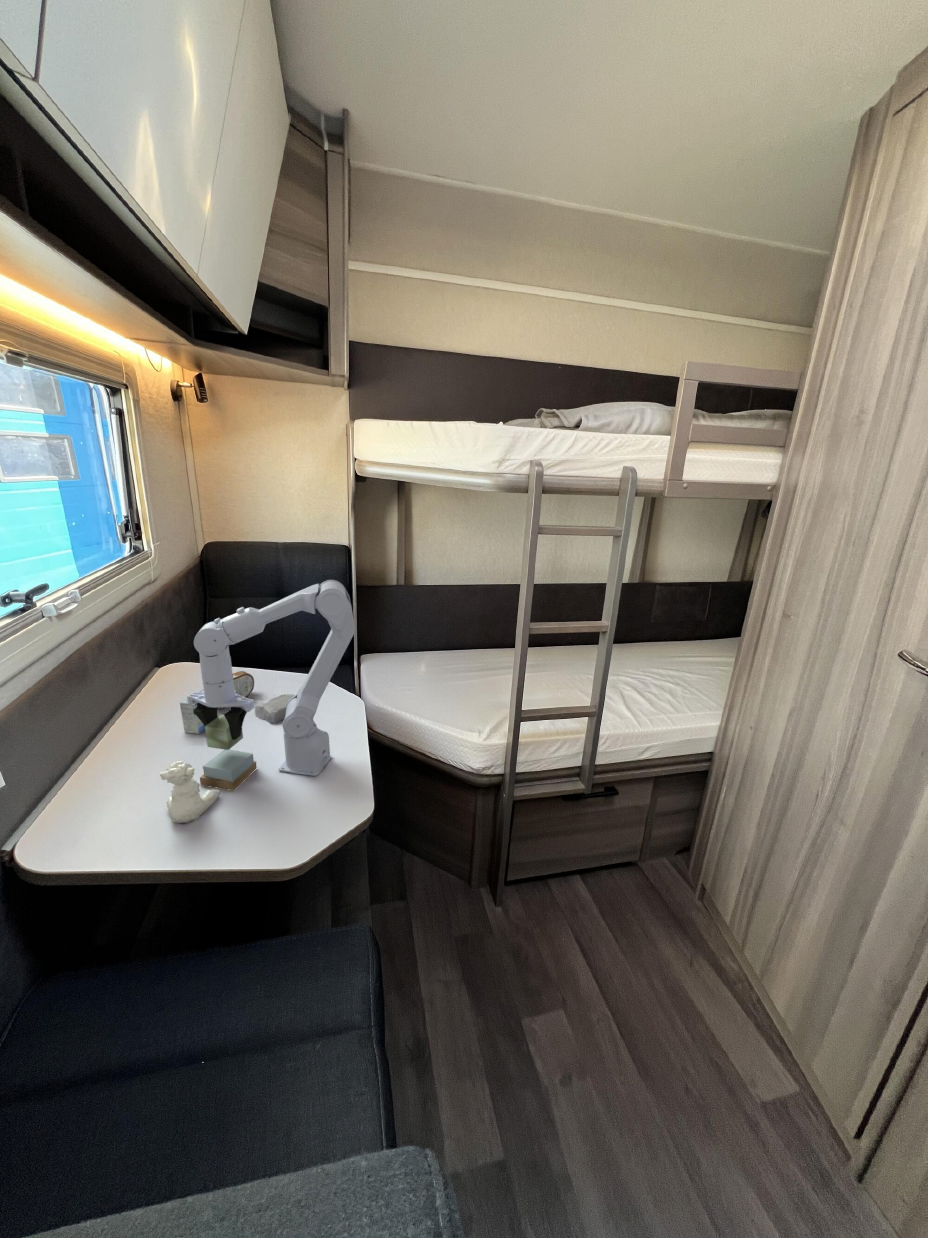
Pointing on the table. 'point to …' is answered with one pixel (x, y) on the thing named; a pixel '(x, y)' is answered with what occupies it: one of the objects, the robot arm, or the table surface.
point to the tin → (242, 684)
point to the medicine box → (191, 717)
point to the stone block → (273, 709)
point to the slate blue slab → (228, 765)
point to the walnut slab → (227, 784)
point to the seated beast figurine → (186, 793)
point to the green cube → (220, 734)
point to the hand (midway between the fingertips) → (225, 735)
